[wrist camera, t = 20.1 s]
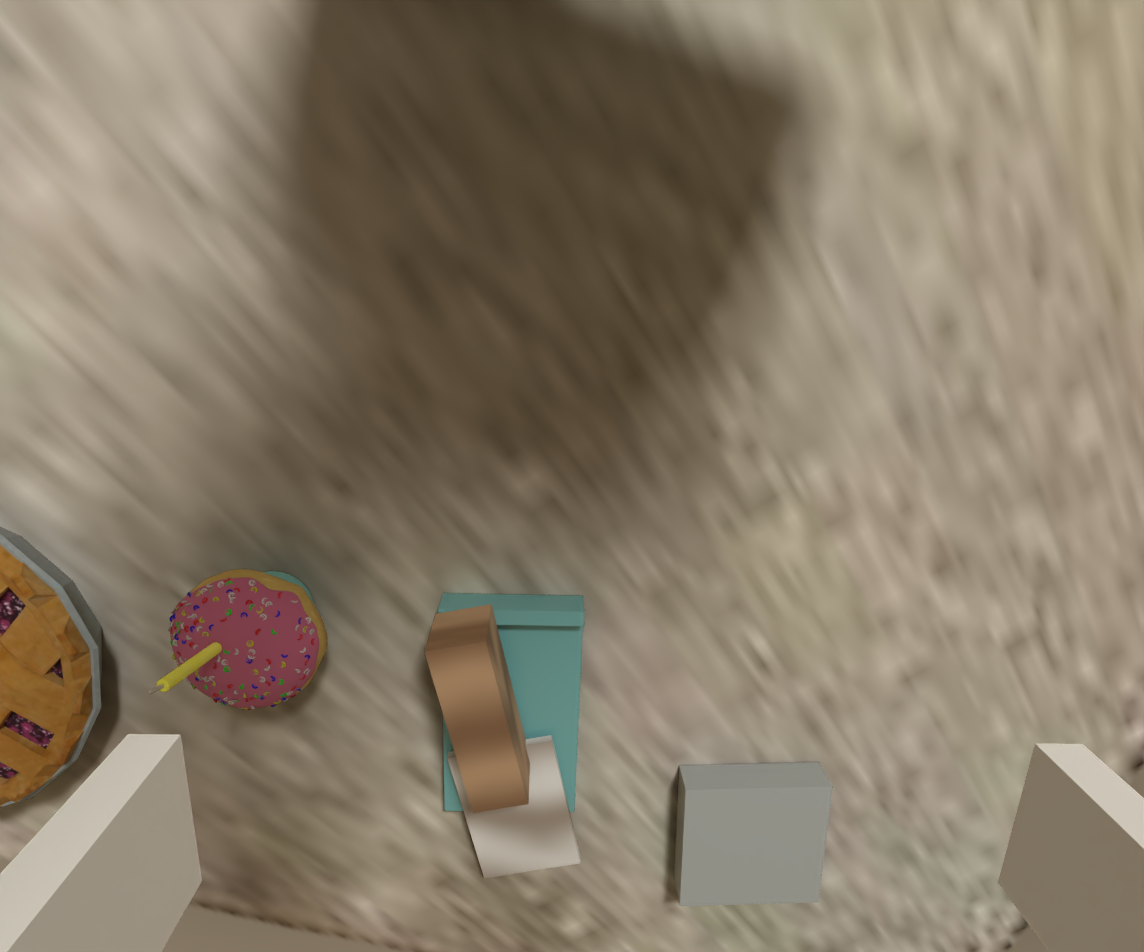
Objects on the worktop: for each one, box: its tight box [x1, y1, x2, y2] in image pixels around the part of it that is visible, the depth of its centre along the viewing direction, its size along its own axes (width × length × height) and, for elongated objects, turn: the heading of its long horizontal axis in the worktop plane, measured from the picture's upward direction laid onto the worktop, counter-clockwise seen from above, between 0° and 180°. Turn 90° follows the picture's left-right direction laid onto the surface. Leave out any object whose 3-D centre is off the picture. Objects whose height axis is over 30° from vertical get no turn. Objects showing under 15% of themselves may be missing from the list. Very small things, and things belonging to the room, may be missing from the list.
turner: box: [425, 604, 581, 878], centre depth 44 cm, size 22×7×4 cm, turn 10°
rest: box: [438, 593, 585, 812], centre depth 46 cm, size 16×9×2 cm, turn 178°
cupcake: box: [147, 569, 327, 710], centre depth 38 cm, size 9×8×12 cm
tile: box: [674, 762, 833, 906], centre depth 49 cm, size 3×10×10 cm
